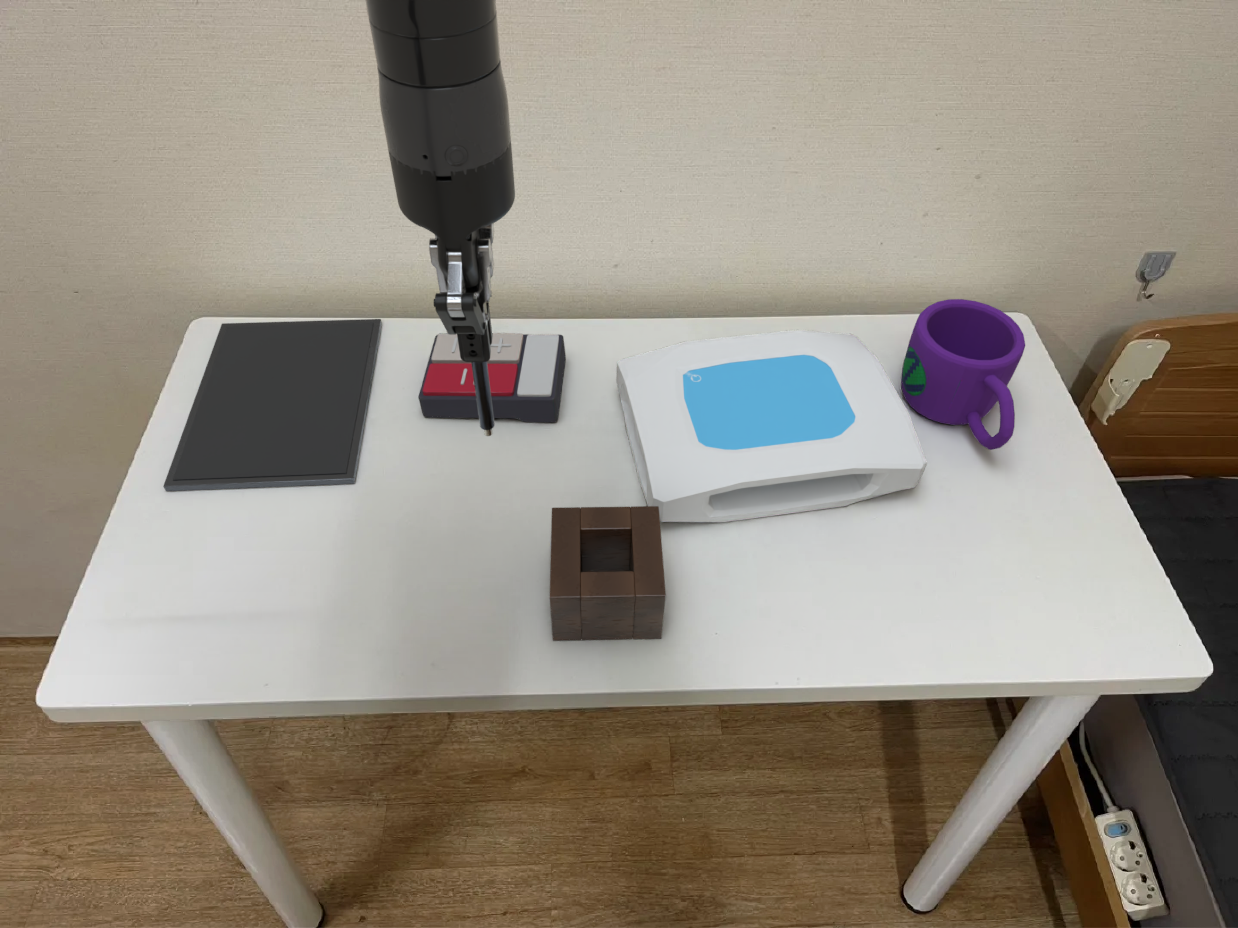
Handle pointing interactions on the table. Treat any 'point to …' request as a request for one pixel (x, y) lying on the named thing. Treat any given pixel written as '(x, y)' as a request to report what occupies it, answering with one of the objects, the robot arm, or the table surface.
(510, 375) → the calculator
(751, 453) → the document scanner
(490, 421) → the stylus
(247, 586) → the table surface
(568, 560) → the pen stand
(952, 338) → the mug
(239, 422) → the tablet
